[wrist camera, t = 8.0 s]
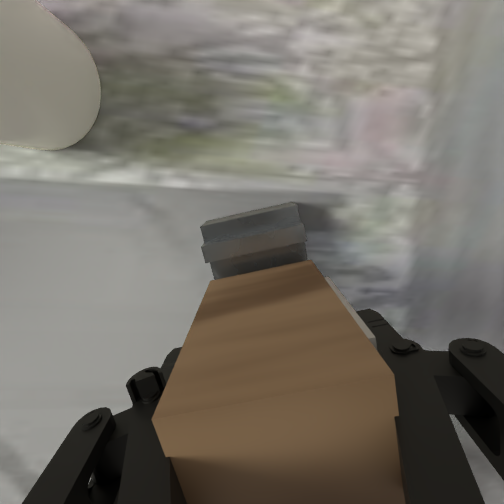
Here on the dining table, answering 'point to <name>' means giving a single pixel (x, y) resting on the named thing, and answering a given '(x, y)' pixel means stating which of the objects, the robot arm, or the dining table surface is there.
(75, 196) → the dining table surface
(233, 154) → the dining table surface
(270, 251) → the rail
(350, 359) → the brown wooden block
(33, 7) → the pill bottle
